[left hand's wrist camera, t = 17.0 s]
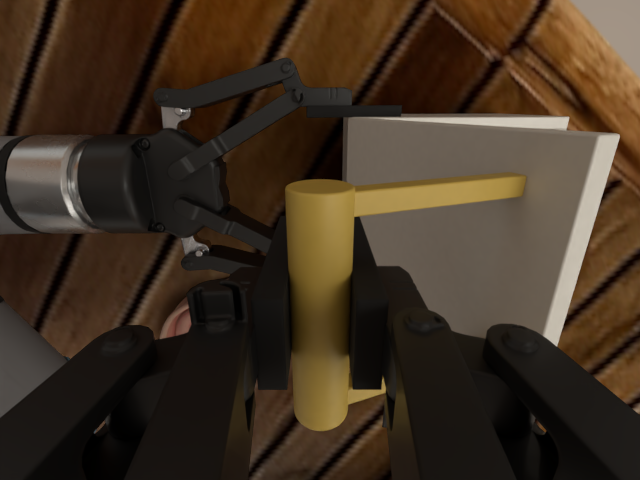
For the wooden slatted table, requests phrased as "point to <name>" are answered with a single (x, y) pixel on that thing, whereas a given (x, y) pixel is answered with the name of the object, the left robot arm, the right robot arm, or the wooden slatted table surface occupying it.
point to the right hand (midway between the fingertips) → (392, 183)
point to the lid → (439, 236)
